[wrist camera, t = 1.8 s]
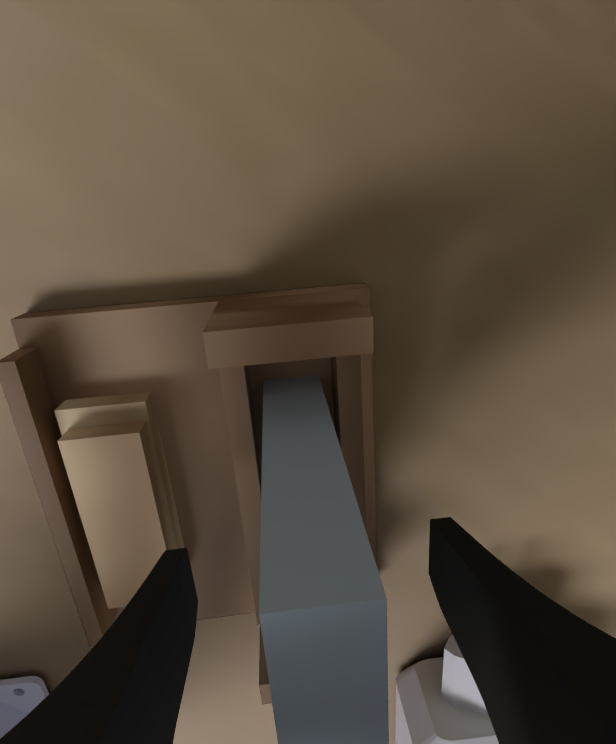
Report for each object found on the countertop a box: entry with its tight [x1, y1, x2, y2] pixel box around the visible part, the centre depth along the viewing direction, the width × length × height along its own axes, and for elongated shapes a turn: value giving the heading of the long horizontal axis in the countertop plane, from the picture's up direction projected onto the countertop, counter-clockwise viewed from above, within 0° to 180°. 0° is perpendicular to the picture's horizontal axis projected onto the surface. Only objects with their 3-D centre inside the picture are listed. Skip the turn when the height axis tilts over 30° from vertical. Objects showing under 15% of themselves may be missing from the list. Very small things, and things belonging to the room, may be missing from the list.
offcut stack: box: [54, 391, 185, 609], centre depth 17 cm, size 3×8×2 cm, turn 4°
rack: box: [0, 283, 377, 704], centre depth 16 cm, size 12×14×5 cm
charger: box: [396, 634, 499, 744], centre depth 22 cm, size 5×9×15 cm
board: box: [259, 375, 389, 744], centre depth 13 cm, size 2×8×10 cm, turn 4°
